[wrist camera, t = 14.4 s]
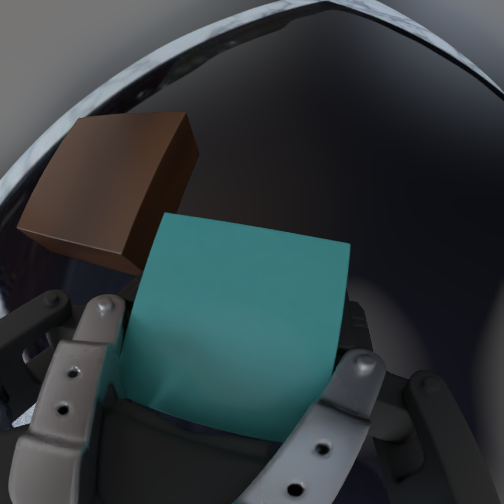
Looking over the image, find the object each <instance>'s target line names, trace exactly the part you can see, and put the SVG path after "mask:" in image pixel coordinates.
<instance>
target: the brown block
mask: <svg viewBox="0 0 504 504" xmlns="http://www.w3.org/2000/svg"><path fill="white" fill-rule="evenodd" d="M198 156H199V152H198V149H197V146H196V143H195V139H194V137H193V133H192V130H191V127H190V123H189V120H188V117H187V113H186V112H148V113H127V114H114V115H102V116H93V117H84V118H78V120H77V121H76V122H75V124H74V125H73V127H72V128H71V129H70V131H69V132H68V134H67V135H66V137H65V138H64V140H63V141H62V143H61V144H60V146H59V148H58V149H57V151H56V152H55V154H54V156H53V157H52V159H51V161H50V162H49V164H48V166H47V167H46V169H45V171H44V173H43V174H42V176H41V178H40V180H39V182H38V184H37V186H36V187H35V189H34V191H33V193H32V195H31V197H30V199H29V201H28V203H27V205H26V208H25V210H24V212H23V214H22V216H21V219H20V221H19V223H18V225H17V229H19V230H20V231H22V232H23V233H24V234H26V235H27V236H29V237H30V238H32V239H33V240H35V241H36V242H38V243H39V244H41V245H42V246H44V247H45V248H47V249H48V250H50V251H51V252H54V253H57V254H61V255H64V256H67V257H71V258H74V259H77V260H81V261H84V262H88V263H91V264H95V265H98V266H102V267H105V268H109V269H113V270H116V271H120V272H124V273H128V274H132V275H135V276H137V275H139V274H140V273H141V272H142V271H143V270H144V269H145V266H146V263H147V260H148V257H149V254H150V251H151V248H152V246H153V243H154V240H155V237H156V234H157V232H158V229H159V226H160V223H161V221H162V218H163V215H164V213H172V214H176V212H177V209H178V207H179V204H180V201H181V199H182V196H183V193H184V191H185V188H186V186H187V183H188V181H189V178H190V176H191V173H192V171H193V168H194V166H195V163H196V161H197V159H198Z"/></svg>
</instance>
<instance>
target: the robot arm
mask: <svg viewBox="0 0 504 504" xmlns="http://www.w3.org/2000/svg"><path fill="white" fill-rule="evenodd" d="M143 272H144V270H143V271H142V272H141V273H140V274H139V275H137V276H136V277H135V278H134V280H132V281H131V282H129V283H128V284H127V285H126V286H125V287H124V288H123V289H122V290H121V291H120V292H118V293H117V294H116V295H111V294H106V295H100V296H97V297H95V298H93V299H92V300H90V301H89V302H88V304H87V306H84V305H74V304H71V302H70V298H69V295H68V293H67V292H65V291H63V290H50V291H47V292H45V293H43V294H41V295H39V296H38V297H36V298H34V299H32V300H31V301H29V302H27V303H26V304H24V305H22V306H21V307H19V308H17V309H16V310H14V311H12V312H11V313H9V314H7V315H6V316H4V317H3V318H1V319H0V504H332V502H333V500H334V499H335V497H336V495H337V494H338V492H339V490H340V488H341V486H342V485H343V483H344V481H345V479H346V477H347V475H348V473H349V471H350V469H351V467H352V465H353V463H354V461H355V459H356V457H357V455H358V453H359V451H360V448H361V446H362V444H363V442H364V439H365V437H366V435H369V436H372V437H373V440H374V444H375V448H376V451H377V455H378V458H379V462H380V466H381V469H382V473H383V477H384V481H385V485H386V489H387V493H388V497H389V501H390V504H501V503H500V500H499V498H498V495H497V492H496V489H495V486H494V484H493V481H492V478H491V476H490V473H489V471H488V468H487V466H486V464H485V461H484V459H483V457H482V454H481V452H480V450H479V448H478V445H477V443H476V441H475V439H474V437H473V435H472V433H471V431H470V428H469V426H468V424H467V422H466V420H465V419H464V416H463V415H462V413H461V411H460V409H459V407H458V405H457V403H456V401H455V399H454V397H453V396H452V394H451V392H450V390H449V388H448V387H447V385H446V383H445V382H444V380H443V379H442V378H441V377H440V376H438V375H437V374H435V373H433V372H431V371H427V370H420V371H417V372H415V373H414V374H413V375H412V376H411V378H410V379H406V378H402V377H400V376H397V375H394V374H391V373H389V372H387V371H386V365H385V363H384V361H383V360H382V358H381V357H379V356H378V355H377V354H376V353H373V349H372V344H371V339H370V334H369V330H368V328H367V327H368V325H367V322H366V317H365V313H364V310H363V309H362V308H361V306H360V305H359V304H358V303H357V302H354V301H349V298H348V293H347V288H346V294H345V302H344V309H343V316H342V323H341V330H340V336H339V342H338V348H337V353H336V359H335V364H334V369H333V374H332V376H331V378H330V379H329V381H328V383H327V384H326V386H325V388H324V389H323V391H322V392H321V394H320V396H319V397H316V398H315V399H314V401H313V402H312V404H311V405H310V407H309V408H308V410H307V411H306V413H305V414H304V416H303V417H302V419H301V420H300V421H299V423H298V424H297V426H296V427H295V428H294V430H293V431H292V433H291V434H290V435H289V437H288V438H287V439H286V441H285V442H284V443H283V445H282V446H281V447H280V449H279V450H278V451H277V453H276V454H275V455H273V454H271V453H269V452H270V447H271V443H269V442H264V441H258V440H253V439H248V438H243V437H239V436H234V435H225V434H206V433H192V432H187V431H184V430H183V429H181V428H179V427H178V426H176V425H174V424H173V423H171V422H169V421H168V420H166V419H165V418H163V417H161V416H160V415H158V414H157V413H155V412H154V411H152V410H149V409H147V408H144V407H142V406H139V405H137V404H134V403H133V400H130V399H128V398H127V393H126V390H125V387H124V383H123V380H122V377H121V374H120V370H119V359H120V354H121V350H122V346H123V342H124V338H125V334H126V330H127V327H128V323H129V319H130V316H131V312H132V309H133V305H134V302H135V298H136V295H137V292H138V288H139V285H140V282H141V279H142V275H143ZM44 334H46V336H47V339H48V341H49V344H50V346H49V347H48V348H47V349H45V350H44V351H42V352H41V353H40V354H38V355H37V356H36V357H34V358H33V359H32V360H30V361H29V362H27V363H26V364H25V363H24V361H23V358H22V353H23V350H24V349H25V348H26V347H27V346H28V345H30V344H31V343H32V342H34V341H35V340H37V339H38V338H40V337H41V336H43V335H44ZM36 402H37V403H36ZM35 403H36V406H35V409H34V412H33V416H32V419H31V423H30V424H26V425H23V426H19V427H15V428H14V427H13V426H12V423H13V422H14V421H15V420H16V419H17V418H18V417H20V416H21V415H22V414H23V413H24V412H26V411H27V410H28V409H29V408H30V407H31V406H33V405H34V404H35ZM416 433H417V435H418V437H419V440H420V443H421V445H422V448H423V451H424V455H423V452H422V449H421V447H420V444H419V441H418V439H417V436H416Z"/></svg>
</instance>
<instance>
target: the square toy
mask: <svg viewBox="0 0 504 504" xmlns="http://www.w3.org/2000/svg"><path fill="white" fill-rule="evenodd" d="M349 257H350V244H348V243H343V242H338V241H333V240H327V239H321V238H316V237H311V236H306V235H300V234H294V233H289V232H282V231H277V230H272V229H266V228H260V227H254V226H248V225H242V224H236V223H230V222H224V221H218V220H211V219H205V218H199V217H192V216H186V215H179V214H172V213H164V215H163V218H162V221H161V223H160V226H159V229H158V232H157V234H156V237H155V240H154V243H153V246H152V248H151V251H150V254H149V257H148V260H147V263H146V266H145V269H144V272H143V275H142V279H141V282H140V285H139V288H138V292H137V295H136V298H135V302H134V305H133V309H132V312H131V316H130V319H129V323H128V327H127V330H126V334H125V338H124V342H123V346H122V350H121V354H120V359H119V370H120V374H121V377H122V380H123V383H124V387H125V390H126V393H127V398H128V399H130V400H133V401H135V402H138V403H140V404H143V405H145V406H148V407H150V408H153V409H156V410H158V411H161V412H164V413H167V414H170V415H172V416H175V417H178V418H182V419H185V420H188V421H191V422H194V423H198V424H201V425H205V426H208V427H212V428H216V429H219V430H223V431H227V432H232V433H236V434H240V435H245V436H250V437H255V438H260V439H265V440H271V441H277V442H283V443H284V442H285V441H286V439H287V438H288V437H289V435H290V434H291V433H292V431H293V430H294V428H295V427H296V426H297V424H298V423H299V421H300V420H301V419H302V417H303V416H304V414H305V413H306V411H307V410H308V408H309V407H310V405H311V404H312V402H313V401H314V399H315V398H316V397H319V396H320V394H321V392H322V391H323V389H324V388H325V386H326V384H327V383H328V381H329V379H330V378H331V376H332V374H333V369H334V364H335V359H336V353H337V348H338V342H339V336H340V330H341V323H342V316H343V309H344V302H345V294H346V286H347V277H348V267H349Z"/></svg>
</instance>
